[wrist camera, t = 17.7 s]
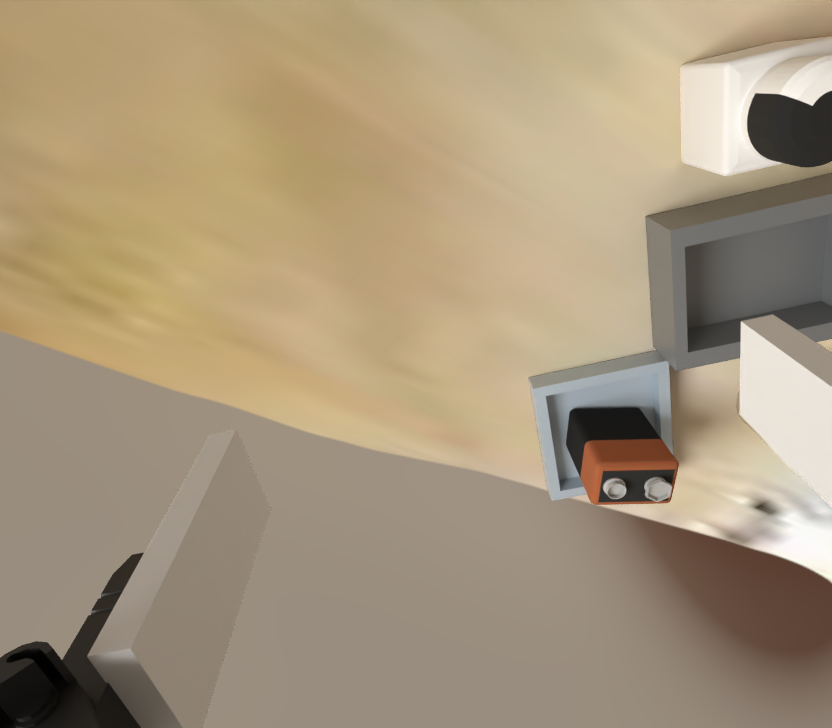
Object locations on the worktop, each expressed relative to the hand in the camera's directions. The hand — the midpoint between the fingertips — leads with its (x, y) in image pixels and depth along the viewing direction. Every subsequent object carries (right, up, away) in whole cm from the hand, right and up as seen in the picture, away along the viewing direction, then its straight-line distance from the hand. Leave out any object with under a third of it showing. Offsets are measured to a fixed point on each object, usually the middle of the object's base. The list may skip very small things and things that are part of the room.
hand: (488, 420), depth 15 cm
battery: (+16, -4, +41) cm, 44 cm away
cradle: (+26, +10, +34) cm, 44 cm away
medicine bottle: (+22, +21, +29) cm, 42 cm away
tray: (+16, -4, +41) cm, 44 cm away
